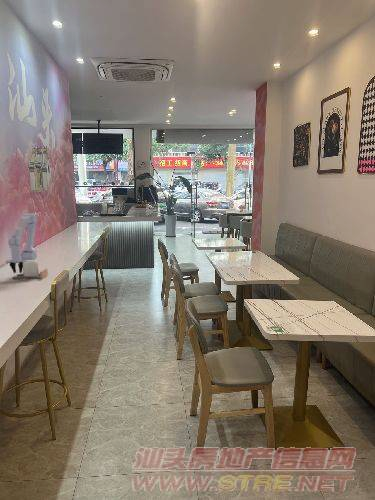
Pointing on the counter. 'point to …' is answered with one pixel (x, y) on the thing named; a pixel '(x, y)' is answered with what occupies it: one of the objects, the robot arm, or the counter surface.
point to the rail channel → (41, 276)
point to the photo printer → (30, 268)
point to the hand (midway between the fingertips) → (17, 272)
